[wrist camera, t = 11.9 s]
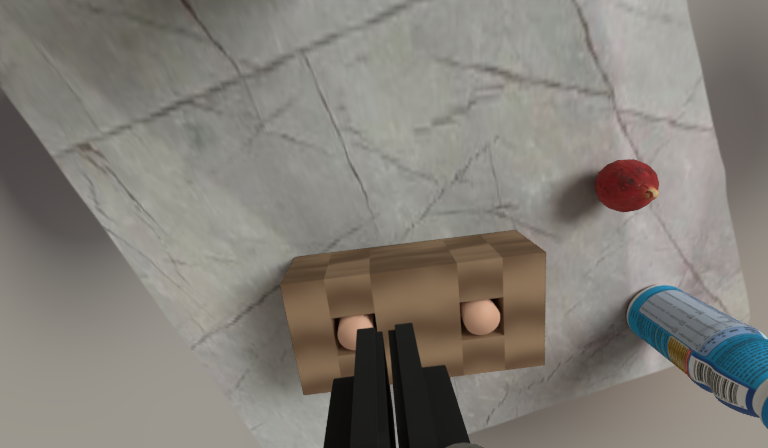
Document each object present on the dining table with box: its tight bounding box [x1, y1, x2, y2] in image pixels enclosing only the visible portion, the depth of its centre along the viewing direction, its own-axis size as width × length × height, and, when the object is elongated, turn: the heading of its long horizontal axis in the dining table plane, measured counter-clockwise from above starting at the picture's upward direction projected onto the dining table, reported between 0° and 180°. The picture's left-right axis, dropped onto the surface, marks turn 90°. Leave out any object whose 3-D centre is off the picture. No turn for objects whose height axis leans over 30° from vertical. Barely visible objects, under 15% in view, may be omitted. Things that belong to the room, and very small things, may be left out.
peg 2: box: [460, 299, 500, 335], centre depth 43 cm, size 4×4×8 cm
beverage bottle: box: [627, 285, 768, 429], centre depth 39 cm, size 8×8×20 cm
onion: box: [595, 159, 659, 212], centre depth 40 cm, size 6×6×8 cm
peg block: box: [280, 230, 546, 395], centre depth 43 cm, size 14×28×8 cm, turn 97°
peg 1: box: [338, 313, 374, 351], centre depth 42 cm, size 4×4×8 cm
